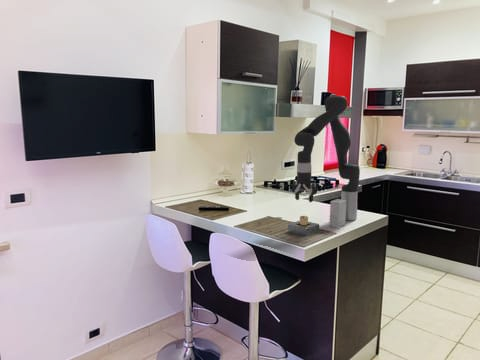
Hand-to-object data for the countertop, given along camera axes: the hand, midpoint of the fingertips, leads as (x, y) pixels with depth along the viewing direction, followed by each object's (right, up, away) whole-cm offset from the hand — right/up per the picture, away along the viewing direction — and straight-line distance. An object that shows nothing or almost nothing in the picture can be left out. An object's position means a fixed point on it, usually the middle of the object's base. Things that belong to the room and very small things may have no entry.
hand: (304, 200), depth 205 cm
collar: (0, -17, +3) cm, 17 cm away
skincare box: (+21, -15, +13) cm, 29 cm away
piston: (0, -17, +3) cm, 17 cm away
